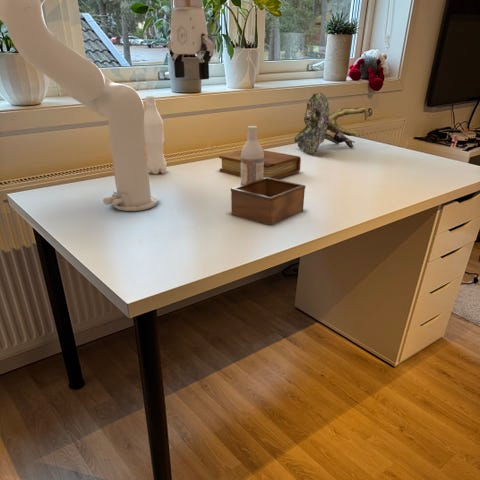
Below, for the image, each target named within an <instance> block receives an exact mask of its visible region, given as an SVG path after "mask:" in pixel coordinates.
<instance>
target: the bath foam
mask: <svg viewBox="0 0 480 480" xmlns="http://www.w3.org/2000/svg"><path fill="white" fill-rule="evenodd" d="M258 128H259V127H258V126H257V125H248V126H247V140H246V141H245V143H244V145H243V147H242V148H241V151H242V152H241V176H240V185H243V184H246V183H249V182H253V181H256V180H259V179H262V178H263V172H264V153H263V150H264V149H263V147H262V144H261V143H260V142H259V140H258V137H259V136H258V134H259V131H258V130H259V129H258Z"/></svg>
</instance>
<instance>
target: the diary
mask: <svg viewBox="0 0 480 480" xmlns="http://www.w3.org/2000/svg"><path fill="white" fill-rule="evenodd" d="M241 152H242V150H237V151H234V152H230V153H225V154H220V155H218V159H221V168H219V172H221V173H225V174H230V175H233V176H238V177H241ZM263 153H264V172H263V178H265V177H268V178H273V179H278V180H280V179H282V178H286V177H289V176H292V175H294V174H295V175H296V174H298V173H300V171H301V161H302V158H301V156H300V155H299V156H298V155H293V154H287V153H283V152H277V151H270V150H265V149H263Z"/></svg>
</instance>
